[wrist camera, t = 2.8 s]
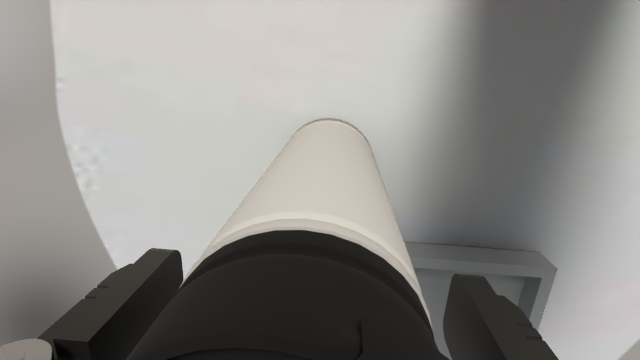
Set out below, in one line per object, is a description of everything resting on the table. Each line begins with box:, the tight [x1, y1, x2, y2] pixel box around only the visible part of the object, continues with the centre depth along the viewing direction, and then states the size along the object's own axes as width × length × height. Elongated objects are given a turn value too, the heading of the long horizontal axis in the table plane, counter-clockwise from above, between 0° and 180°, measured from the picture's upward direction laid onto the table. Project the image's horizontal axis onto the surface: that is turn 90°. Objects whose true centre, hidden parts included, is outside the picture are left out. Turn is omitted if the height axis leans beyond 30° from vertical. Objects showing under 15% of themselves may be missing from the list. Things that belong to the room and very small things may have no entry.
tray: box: [404, 242, 557, 360], centre depth 27 cm, size 16×14×2 cm
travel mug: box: [126, 118, 450, 360], centre depth 14 cm, size 6×7×20 cm
